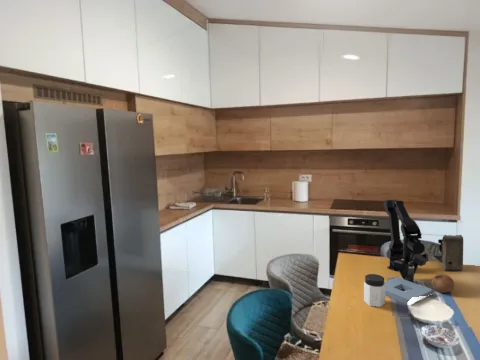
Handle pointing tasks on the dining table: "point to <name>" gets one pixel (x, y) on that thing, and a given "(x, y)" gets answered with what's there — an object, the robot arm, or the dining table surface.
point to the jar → (374, 290)
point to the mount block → (414, 289)
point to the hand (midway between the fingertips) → (408, 276)
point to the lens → (410, 273)
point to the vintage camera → (451, 252)
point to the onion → (443, 283)
